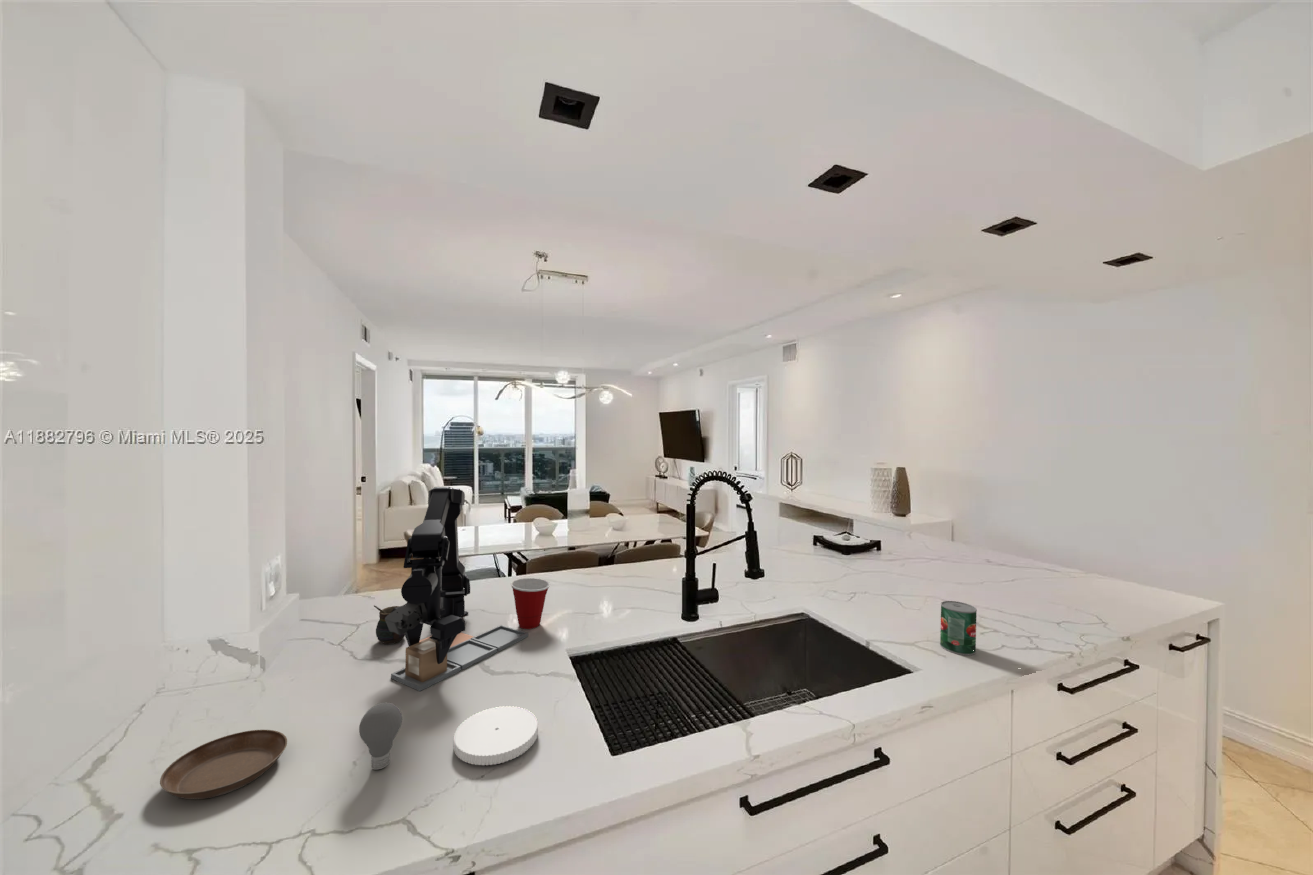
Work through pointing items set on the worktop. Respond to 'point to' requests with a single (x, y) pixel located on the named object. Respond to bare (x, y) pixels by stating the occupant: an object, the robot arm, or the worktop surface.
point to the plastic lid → (495, 735)
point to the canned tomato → (958, 627)
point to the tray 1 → (420, 686)
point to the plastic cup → (529, 600)
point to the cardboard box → (423, 661)
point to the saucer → (223, 764)
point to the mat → (456, 639)
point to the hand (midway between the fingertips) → (426, 658)
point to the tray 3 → (500, 637)
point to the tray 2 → (469, 653)
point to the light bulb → (380, 732)
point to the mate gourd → (386, 628)
